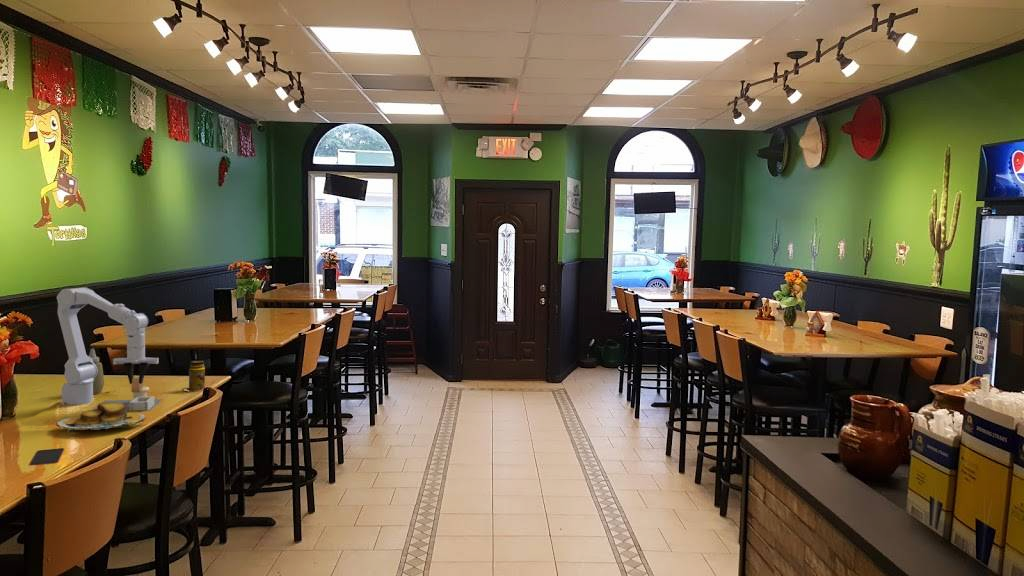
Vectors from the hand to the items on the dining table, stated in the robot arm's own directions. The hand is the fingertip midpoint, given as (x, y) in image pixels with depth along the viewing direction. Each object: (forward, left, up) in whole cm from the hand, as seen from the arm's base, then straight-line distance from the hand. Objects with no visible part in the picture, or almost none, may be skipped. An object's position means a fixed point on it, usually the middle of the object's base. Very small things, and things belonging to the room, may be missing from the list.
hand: (136, 383), depth 241 cm
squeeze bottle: (-23, +29, -10) cm, 38 cm away
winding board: (-3, +1, -10) cm, 11 cm away
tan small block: (0, +1, -3) cm, 3 cm away
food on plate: (-5, -20, -10) cm, 23 cm away
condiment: (+14, +32, -10) cm, 36 cm away
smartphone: (-10, -52, -11) cm, 54 cm away
